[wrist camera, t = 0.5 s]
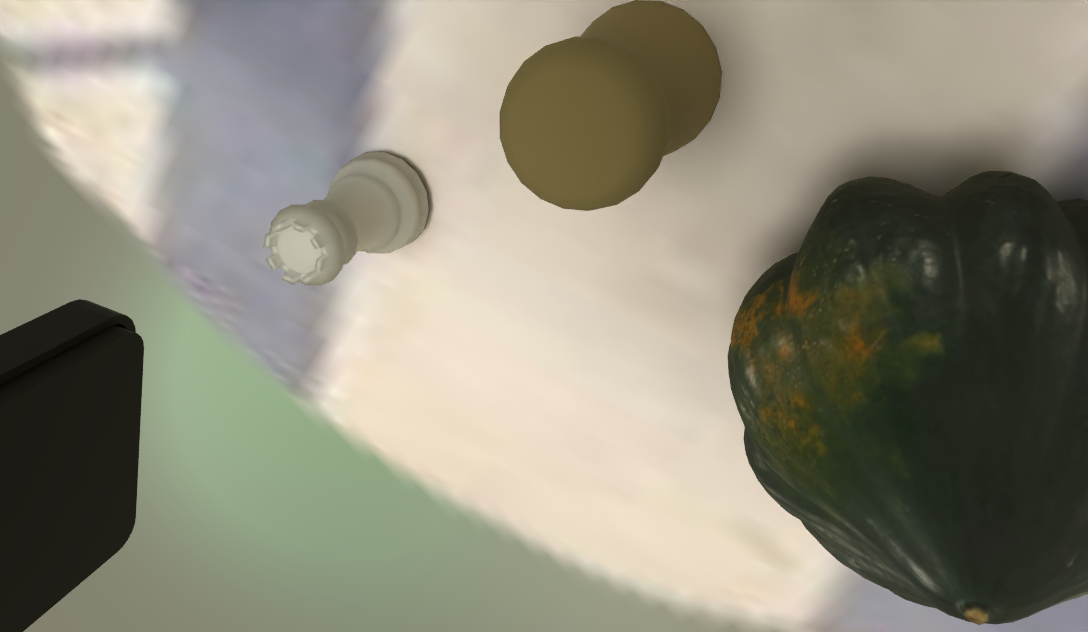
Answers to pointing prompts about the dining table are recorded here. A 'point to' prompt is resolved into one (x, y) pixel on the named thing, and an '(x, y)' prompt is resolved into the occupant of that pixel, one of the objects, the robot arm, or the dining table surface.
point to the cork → (609, 104)
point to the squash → (930, 391)
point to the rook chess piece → (349, 219)
